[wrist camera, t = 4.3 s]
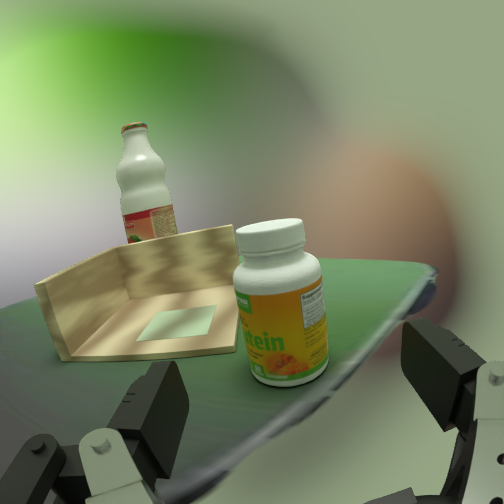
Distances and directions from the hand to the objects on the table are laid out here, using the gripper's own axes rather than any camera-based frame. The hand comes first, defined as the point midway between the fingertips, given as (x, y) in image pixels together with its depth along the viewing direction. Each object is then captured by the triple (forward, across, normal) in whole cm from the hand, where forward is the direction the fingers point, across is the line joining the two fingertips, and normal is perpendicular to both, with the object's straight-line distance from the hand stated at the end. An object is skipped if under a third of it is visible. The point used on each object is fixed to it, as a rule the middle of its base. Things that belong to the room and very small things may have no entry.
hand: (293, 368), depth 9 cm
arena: (+21, +13, +6) cm, 25 cm away
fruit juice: (+43, +20, +6) cm, 48 cm away
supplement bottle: (+9, 0, +6) cm, 11 cm away
